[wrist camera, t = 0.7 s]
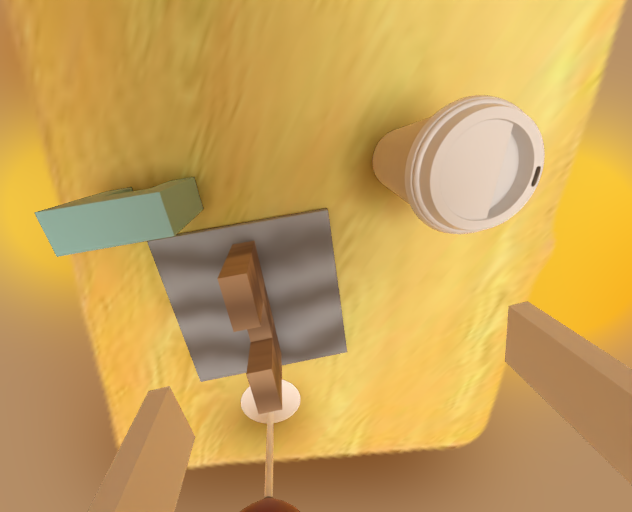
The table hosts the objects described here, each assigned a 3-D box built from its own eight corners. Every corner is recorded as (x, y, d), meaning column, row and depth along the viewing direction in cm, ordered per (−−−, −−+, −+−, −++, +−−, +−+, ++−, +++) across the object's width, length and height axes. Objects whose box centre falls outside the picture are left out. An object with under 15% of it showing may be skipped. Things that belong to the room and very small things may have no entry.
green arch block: (106, 191, 31) (34, 212, 22) (194, 176, 32) (159, 191, 22) (120, 223, 32) (56, 256, 23) (203, 209, 33) (174, 236, 24)
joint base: (150, 238, 33) (101, 276, 24) (326, 208, 34) (344, 232, 25) (202, 376, 41) (180, 445, 31) (345, 347, 42) (364, 406, 33)
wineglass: (239, 375, 41) (198, 623, 20) (309, 378, 43) (341, 611, 22) (233, 423, 44) (192, 684, 23) (299, 425, 46) (318, 669, 25)
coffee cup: (412, 215, 36) (496, 262, 22) (343, 179, 34) (390, 207, 20) (457, 139, 33) (585, 138, 20) (387, 94, 31) (476, 57, 17)
